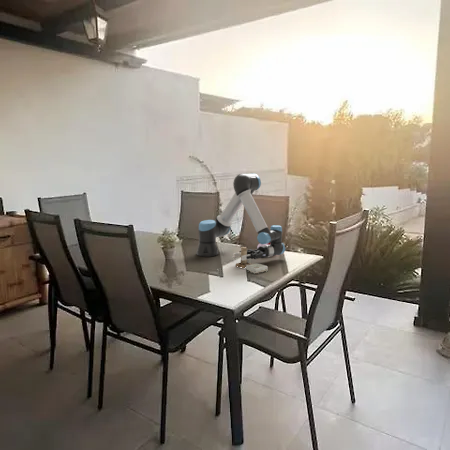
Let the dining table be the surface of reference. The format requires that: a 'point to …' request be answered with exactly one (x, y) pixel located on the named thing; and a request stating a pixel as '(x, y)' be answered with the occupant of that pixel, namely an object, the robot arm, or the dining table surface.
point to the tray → (251, 267)
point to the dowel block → (242, 265)
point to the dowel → (243, 252)
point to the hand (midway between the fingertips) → (237, 256)
